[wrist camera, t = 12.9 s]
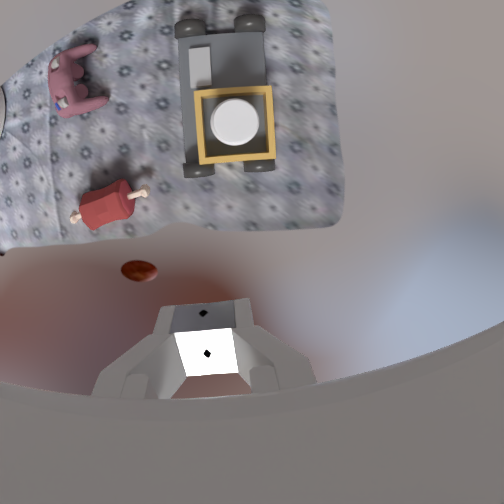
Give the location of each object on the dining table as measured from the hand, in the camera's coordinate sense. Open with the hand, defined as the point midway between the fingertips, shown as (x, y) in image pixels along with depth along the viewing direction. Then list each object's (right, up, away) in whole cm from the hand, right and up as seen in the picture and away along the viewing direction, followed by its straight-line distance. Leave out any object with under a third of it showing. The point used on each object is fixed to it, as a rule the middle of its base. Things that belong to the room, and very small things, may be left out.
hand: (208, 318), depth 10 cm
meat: (-17, +9, +25) cm, 31 cm away
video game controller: (-20, +24, +18) cm, 36 cm away
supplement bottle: (-1, +17, +22) cm, 28 cm away
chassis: (-2, +21, +21) cm, 30 cm away
